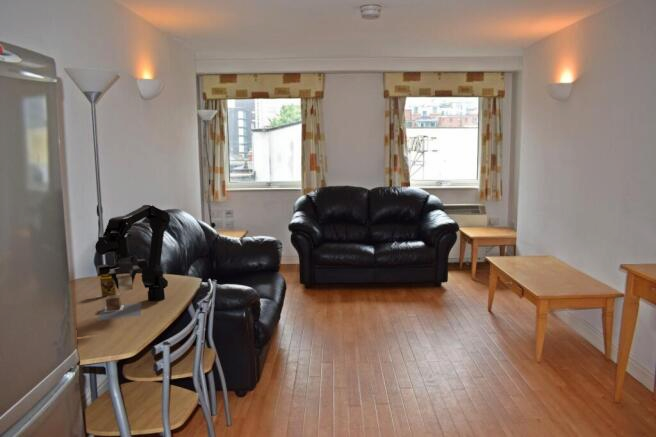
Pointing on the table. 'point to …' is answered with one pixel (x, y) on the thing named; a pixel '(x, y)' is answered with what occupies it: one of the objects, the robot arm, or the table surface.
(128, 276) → the birch block
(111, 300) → the walnut block
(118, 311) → the grey base plate
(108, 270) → the robot arm
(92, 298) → the table surface
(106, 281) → the condiment
